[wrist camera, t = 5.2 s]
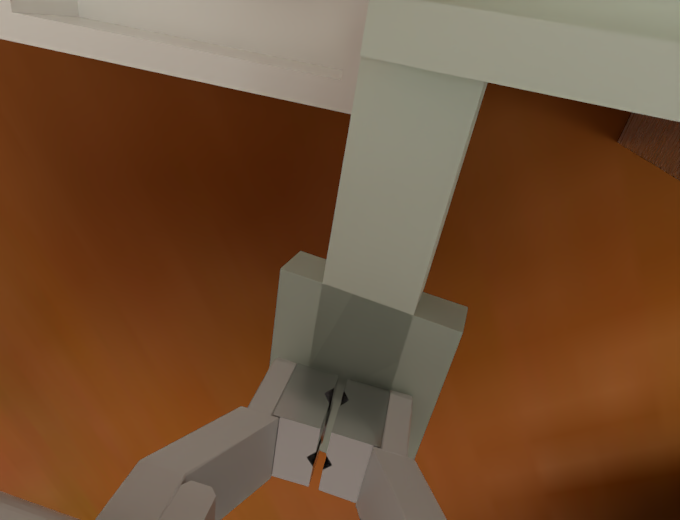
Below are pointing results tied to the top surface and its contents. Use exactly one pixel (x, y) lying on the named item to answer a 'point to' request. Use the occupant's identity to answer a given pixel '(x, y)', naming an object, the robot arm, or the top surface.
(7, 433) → the top surface
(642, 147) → the stand
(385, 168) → the lever
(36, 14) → the white flat rimmed tray
